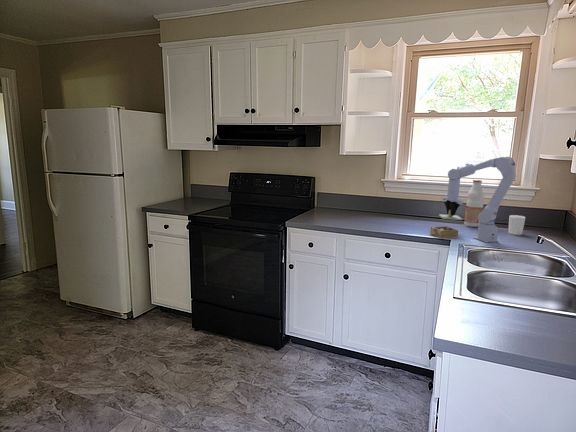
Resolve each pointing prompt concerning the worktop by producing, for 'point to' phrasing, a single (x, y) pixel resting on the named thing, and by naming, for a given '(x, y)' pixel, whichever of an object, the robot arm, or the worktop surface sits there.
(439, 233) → the box
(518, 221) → the white cup
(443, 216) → the lid
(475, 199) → the fruit juice
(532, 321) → the worktop surface
